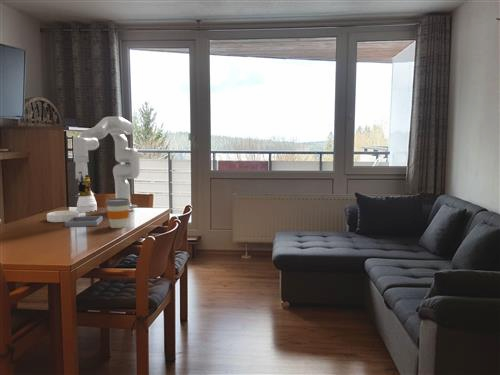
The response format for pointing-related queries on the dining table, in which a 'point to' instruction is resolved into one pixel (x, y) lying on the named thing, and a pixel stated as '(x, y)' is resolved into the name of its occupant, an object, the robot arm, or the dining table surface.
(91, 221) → the square frame
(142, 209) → the dining table surface
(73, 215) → the bowl
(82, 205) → the honey pot
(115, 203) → the reusable coffee cup
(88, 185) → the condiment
